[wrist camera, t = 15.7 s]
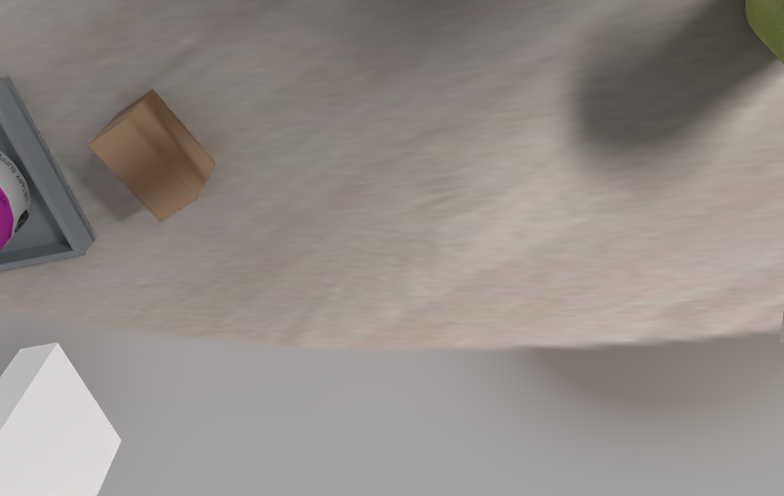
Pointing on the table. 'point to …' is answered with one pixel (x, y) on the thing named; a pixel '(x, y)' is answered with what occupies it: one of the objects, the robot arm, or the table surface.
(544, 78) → the table surface
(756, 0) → the plant pot
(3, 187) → the supplement can
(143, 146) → the walnut block
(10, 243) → the tray
